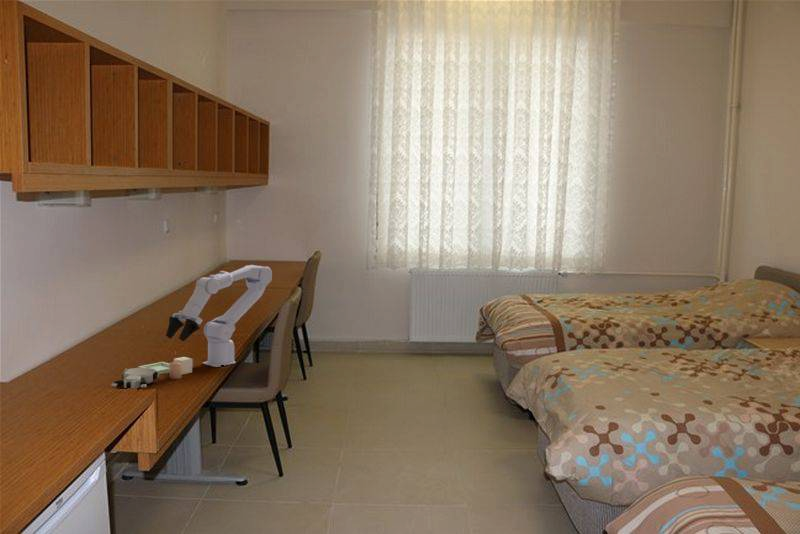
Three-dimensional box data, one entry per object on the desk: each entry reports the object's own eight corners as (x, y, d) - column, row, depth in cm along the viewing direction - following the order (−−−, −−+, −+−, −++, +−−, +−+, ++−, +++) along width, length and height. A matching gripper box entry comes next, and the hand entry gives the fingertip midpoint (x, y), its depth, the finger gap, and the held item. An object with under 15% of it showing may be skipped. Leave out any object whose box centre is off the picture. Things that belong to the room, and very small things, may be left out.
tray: (162, 365, 261) (162, 361, 261) (179, 370, 255) (179, 366, 255) (138, 370, 253) (138, 366, 253) (154, 375, 247) (154, 371, 247)
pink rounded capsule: (176, 375, 249) (176, 361, 248) (183, 377, 246) (183, 363, 246) (167, 377, 246) (167, 363, 245) (173, 379, 243) (174, 365, 243)
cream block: (184, 370, 256) (184, 356, 256) (192, 372, 253) (192, 358, 253) (173, 372, 252) (173, 358, 252) (181, 374, 250) (181, 360, 249)
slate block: (186, 366, 262) (186, 358, 261) (193, 367, 261) (193, 359, 261) (178, 369, 257) (178, 361, 257) (185, 370, 256) (185, 362, 256)
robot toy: (147, 395, 227) (162, 379, 242) (146, 382, 226) (162, 367, 241) (108, 394, 227) (126, 378, 242) (108, 380, 226) (126, 365, 241)
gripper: (174, 298, 257) (154, 330, 251) (200, 302, 248) (179, 335, 242) (187, 308, 262) (168, 340, 256) (212, 312, 253) (193, 345, 247)
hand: (174, 338), depth 249 cm, fingers open, 7 cm apart
